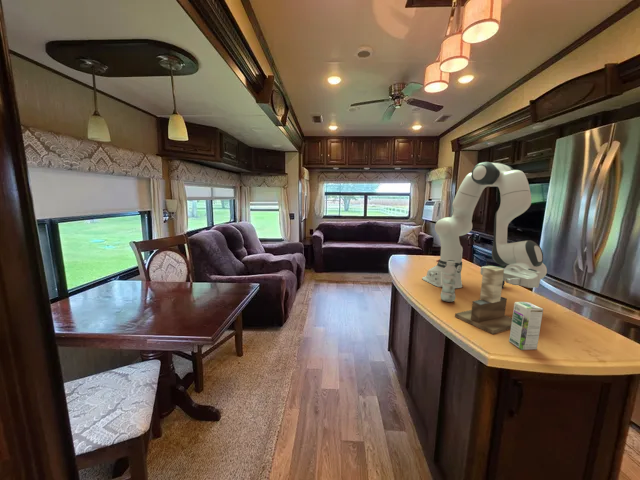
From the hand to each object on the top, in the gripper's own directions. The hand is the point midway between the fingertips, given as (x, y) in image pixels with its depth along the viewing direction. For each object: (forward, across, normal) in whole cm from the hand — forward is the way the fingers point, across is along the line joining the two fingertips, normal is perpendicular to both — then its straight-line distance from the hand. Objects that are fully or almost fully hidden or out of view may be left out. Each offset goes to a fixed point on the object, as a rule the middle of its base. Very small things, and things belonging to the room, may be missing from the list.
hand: (495, 277), depth 108 cm
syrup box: (+9, +17, +18) cm, 26 cm away
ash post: (+2, 0, +9) cm, 9 cm away
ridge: (+2, 0, +18) cm, 18 cm away
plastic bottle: (-1, -22, +18) cm, 29 cm away
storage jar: (-45, -28, +18) cm, 56 cm away
